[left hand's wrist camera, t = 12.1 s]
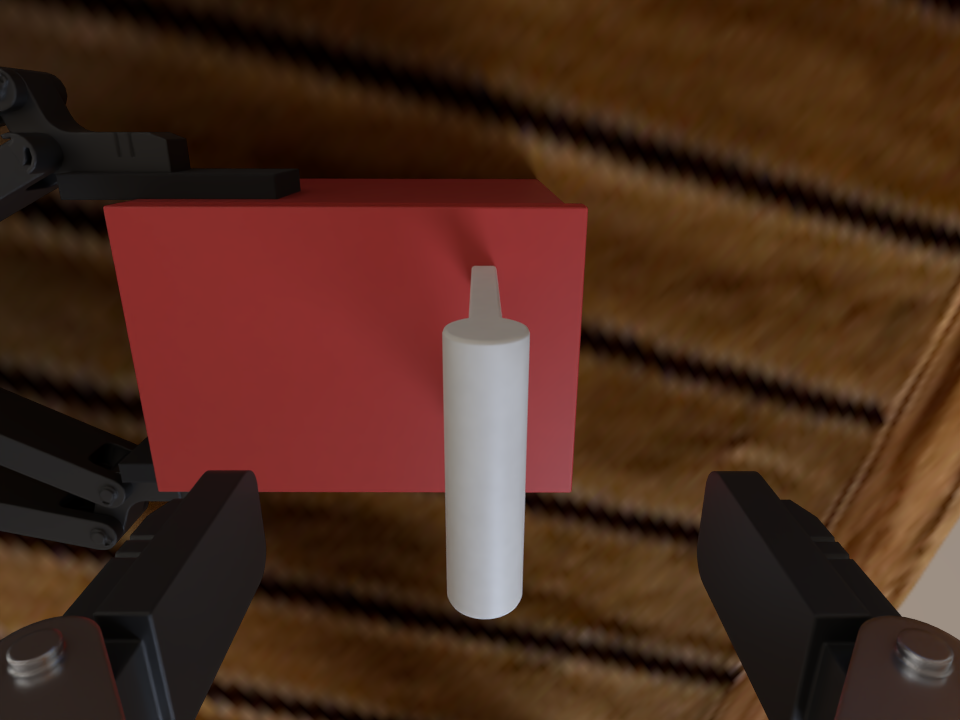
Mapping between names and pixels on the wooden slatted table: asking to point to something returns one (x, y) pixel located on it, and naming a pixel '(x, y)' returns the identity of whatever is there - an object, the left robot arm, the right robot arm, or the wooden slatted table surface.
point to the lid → (364, 356)
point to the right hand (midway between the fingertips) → (302, 329)
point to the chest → (403, 192)
